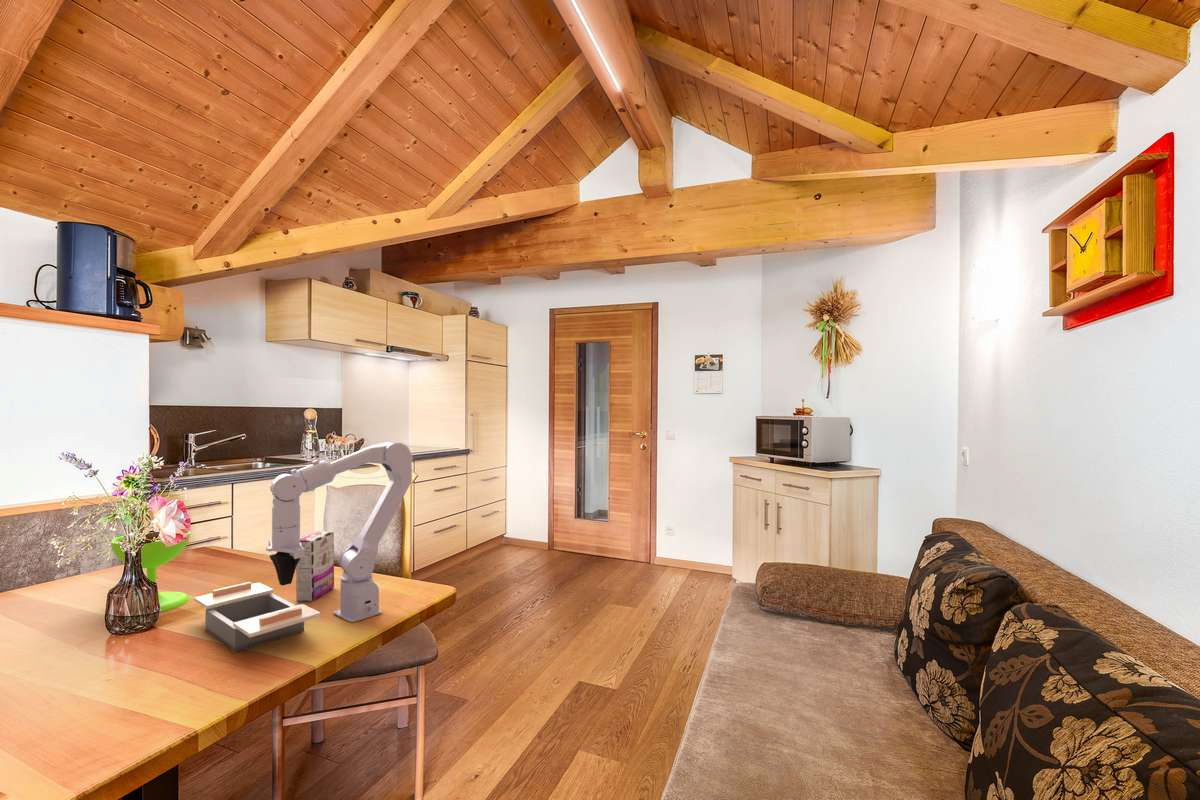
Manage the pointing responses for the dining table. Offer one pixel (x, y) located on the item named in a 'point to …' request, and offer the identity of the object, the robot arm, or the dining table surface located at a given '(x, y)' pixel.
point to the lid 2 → (276, 620)
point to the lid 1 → (232, 594)
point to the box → (226, 615)
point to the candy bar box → (315, 566)
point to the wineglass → (152, 558)
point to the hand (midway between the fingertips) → (285, 584)
